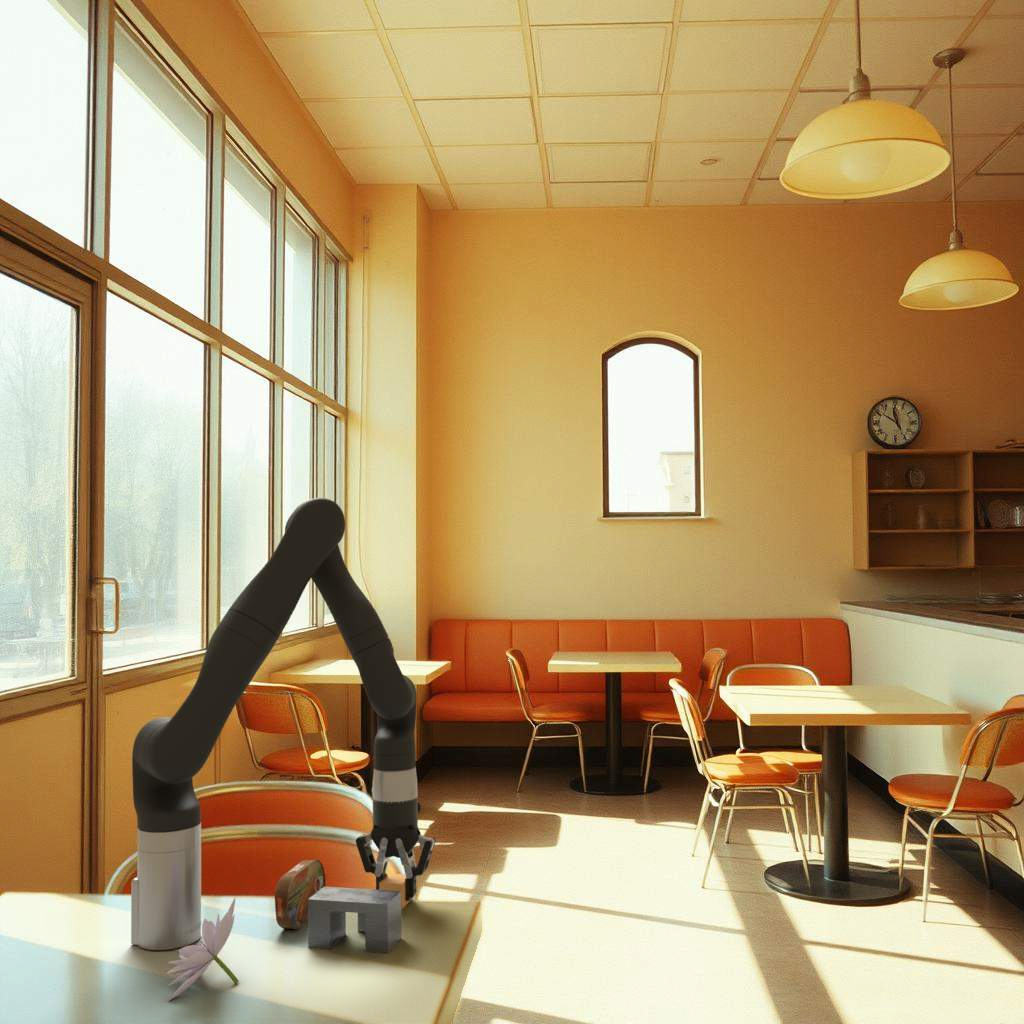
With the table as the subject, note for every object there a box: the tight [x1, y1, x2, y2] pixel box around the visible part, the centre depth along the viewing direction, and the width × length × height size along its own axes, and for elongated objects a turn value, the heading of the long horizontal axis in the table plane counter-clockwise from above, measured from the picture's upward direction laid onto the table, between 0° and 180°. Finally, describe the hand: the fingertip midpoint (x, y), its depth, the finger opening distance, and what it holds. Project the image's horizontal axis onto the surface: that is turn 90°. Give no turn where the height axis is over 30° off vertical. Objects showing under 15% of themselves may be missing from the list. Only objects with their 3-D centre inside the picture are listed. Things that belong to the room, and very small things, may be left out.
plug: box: [357, 873, 413, 932], centre depth 163 cm, size 4×16×4 cm, turn 167°
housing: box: [307, 886, 402, 954], centre depth 151 cm, size 12×6×7 cm, turn 77°
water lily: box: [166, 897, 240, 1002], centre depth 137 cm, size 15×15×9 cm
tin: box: [274, 859, 327, 930], centre depth 161 cm, size 15×3×8 cm, turn 168°
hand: (396, 898), depth 168 cm, fingers closed on plug, 4 cm apart
